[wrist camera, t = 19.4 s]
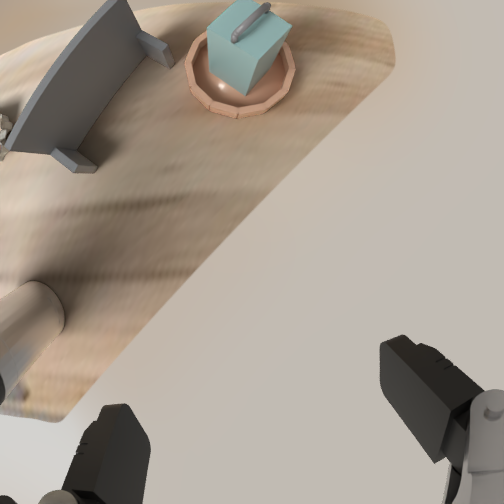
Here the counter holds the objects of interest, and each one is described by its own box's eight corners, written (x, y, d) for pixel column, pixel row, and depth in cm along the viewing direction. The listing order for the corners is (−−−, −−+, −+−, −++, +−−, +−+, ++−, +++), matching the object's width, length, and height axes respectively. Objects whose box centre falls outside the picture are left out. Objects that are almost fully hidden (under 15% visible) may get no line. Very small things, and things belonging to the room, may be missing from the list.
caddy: (270, 68, 33) (296, 18, 20) (245, 96, 33) (260, 53, 20) (234, 44, 32) (244, -14, 18) (209, 71, 32) (206, 19, 19)
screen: (175, 63, 32) (155, 9, 18) (93, 173, 34) (34, 173, 20) (146, 46, 31) (116, -9, 17) (67, 153, 33) (3, 146, 19)
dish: (198, 127, 34) (197, 123, 32) (179, 40, 31) (177, 32, 29) (299, 107, 35) (305, 103, 32) (276, 24, 32) (279, 15, 29)
